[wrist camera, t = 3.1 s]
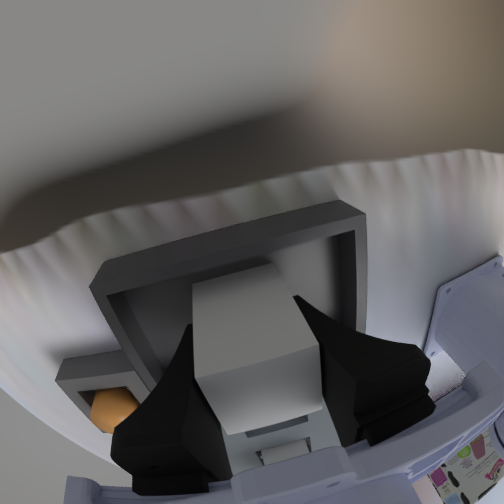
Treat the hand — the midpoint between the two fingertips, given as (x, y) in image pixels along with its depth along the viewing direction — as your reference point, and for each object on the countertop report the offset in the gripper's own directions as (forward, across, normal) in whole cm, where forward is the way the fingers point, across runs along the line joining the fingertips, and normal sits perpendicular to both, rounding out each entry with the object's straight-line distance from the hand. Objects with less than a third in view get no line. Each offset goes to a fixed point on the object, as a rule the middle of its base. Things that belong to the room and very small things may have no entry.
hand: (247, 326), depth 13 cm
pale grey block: (+2, 0, 0) cm, 2 cm away
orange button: (+1, +10, +5) cm, 11 cm away
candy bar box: (+2, -21, +27) cm, 34 cm away
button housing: (+2, +10, +4) cm, 11 cm away
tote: (+2, 0, 0) cm, 2 cm away
